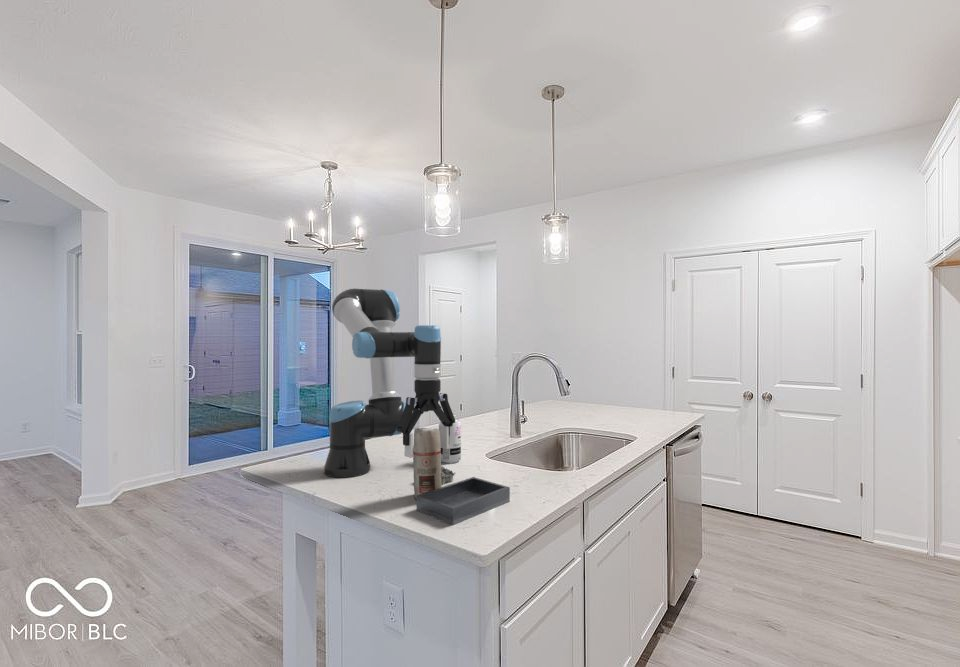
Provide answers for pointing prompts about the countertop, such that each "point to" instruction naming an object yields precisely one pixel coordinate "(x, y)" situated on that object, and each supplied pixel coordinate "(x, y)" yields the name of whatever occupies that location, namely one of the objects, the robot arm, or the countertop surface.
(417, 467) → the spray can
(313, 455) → the countertop surface
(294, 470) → the countertop surface
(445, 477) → the potted succulents
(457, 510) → the grey soap tray
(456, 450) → the supplement can
